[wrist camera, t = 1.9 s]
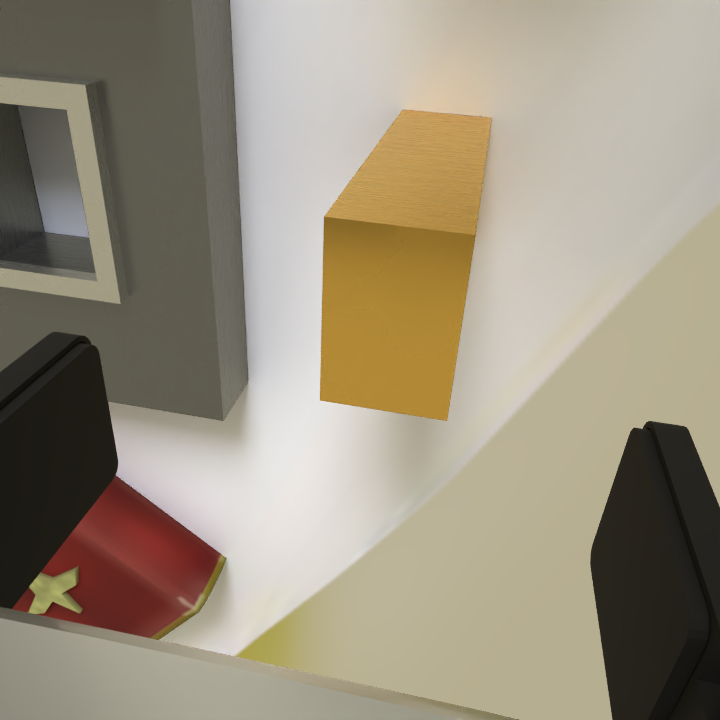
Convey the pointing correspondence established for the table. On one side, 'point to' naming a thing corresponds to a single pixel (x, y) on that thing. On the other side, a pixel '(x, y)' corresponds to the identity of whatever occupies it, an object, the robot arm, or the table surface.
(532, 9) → the table surface
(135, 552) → the hardcover book
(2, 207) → the grey box with slot
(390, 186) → the brass peg in socket
